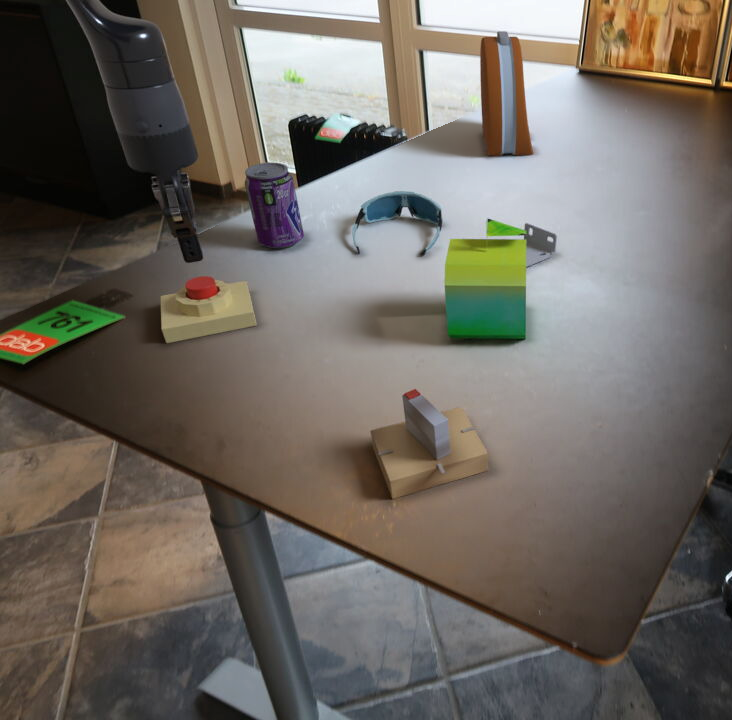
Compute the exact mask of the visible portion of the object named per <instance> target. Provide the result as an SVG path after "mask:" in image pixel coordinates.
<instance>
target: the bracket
mask: <svg viewBox="0 0 732 720" xmlns="http://www.w3.org/2000/svg"><path fill="white" fill-rule="evenodd" d="M530 229H531V230H532V232H531V233H532V234H531V233H530V231H531V230H530ZM523 230H526V235H523V239H526V268H528V267H530V266H532V265H535V264H537V263H539V262H542V261H544V260H547V259H549V258H551V257H552V256H553V255H552V254H553V253H556V252H557V242H558V234H557V233H554V232H552V231H550V230H546V229H544V228H542V227H539V226H537V225H534V224H532V223H528V222H526V223H524V229H523ZM549 238H551V239H552V240H553V241H551V240H549Z"/></svg>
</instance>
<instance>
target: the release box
mask: <svg viewBox="0 0 732 720" xmlns="http://www.w3.org/2000/svg"><path fill="white" fill-rule="evenodd" d="M214 280H215V283H216V286H217V290H218V293H217V294H216V295H215V296H213V297H210V298H208V299H203V300H191V299H190V298H189V297H188V294H187V290H186V287H185V285H184V286H182V287H181V288H180V289H179V290H178V291H177V292H175V293H169V294H165V295H163V294H162V295H160V327H161V328H160V329H161V332H162V334H163V338H164V342H165V343H166V344H172V343H176V342H182V341H186V340H190V339H196V338H200V337H201V338H202V337H205V336H211V335H216V334H222V333H226V332H231V331H236V330H241V329H247V328H251V327H257V326H258V325H257V320H256V315H255V311H254V306H253V302H252V297H251V294H250V290H249V289H250V288H249V286H248V281H247V280H242V281H237V282H232V283H226V282H225V281H223V280H219V279H214Z"/></svg>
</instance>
